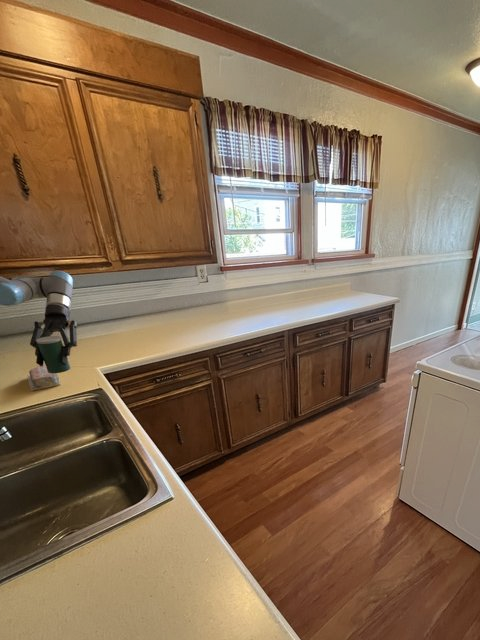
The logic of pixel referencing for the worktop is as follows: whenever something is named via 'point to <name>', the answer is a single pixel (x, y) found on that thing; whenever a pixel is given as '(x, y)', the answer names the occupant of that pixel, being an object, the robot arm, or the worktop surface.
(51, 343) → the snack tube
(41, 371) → the packaged product
